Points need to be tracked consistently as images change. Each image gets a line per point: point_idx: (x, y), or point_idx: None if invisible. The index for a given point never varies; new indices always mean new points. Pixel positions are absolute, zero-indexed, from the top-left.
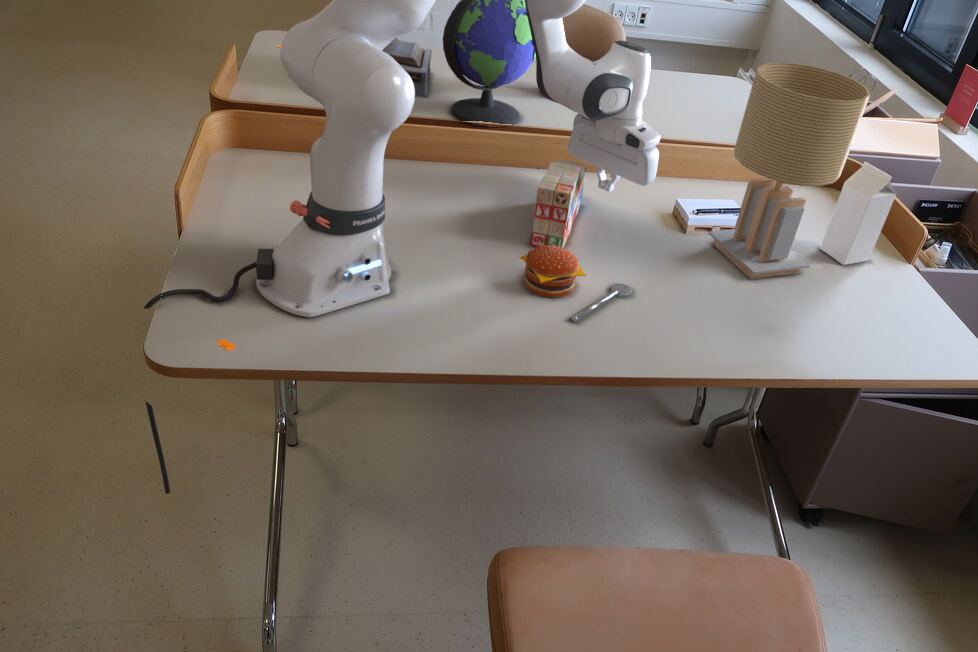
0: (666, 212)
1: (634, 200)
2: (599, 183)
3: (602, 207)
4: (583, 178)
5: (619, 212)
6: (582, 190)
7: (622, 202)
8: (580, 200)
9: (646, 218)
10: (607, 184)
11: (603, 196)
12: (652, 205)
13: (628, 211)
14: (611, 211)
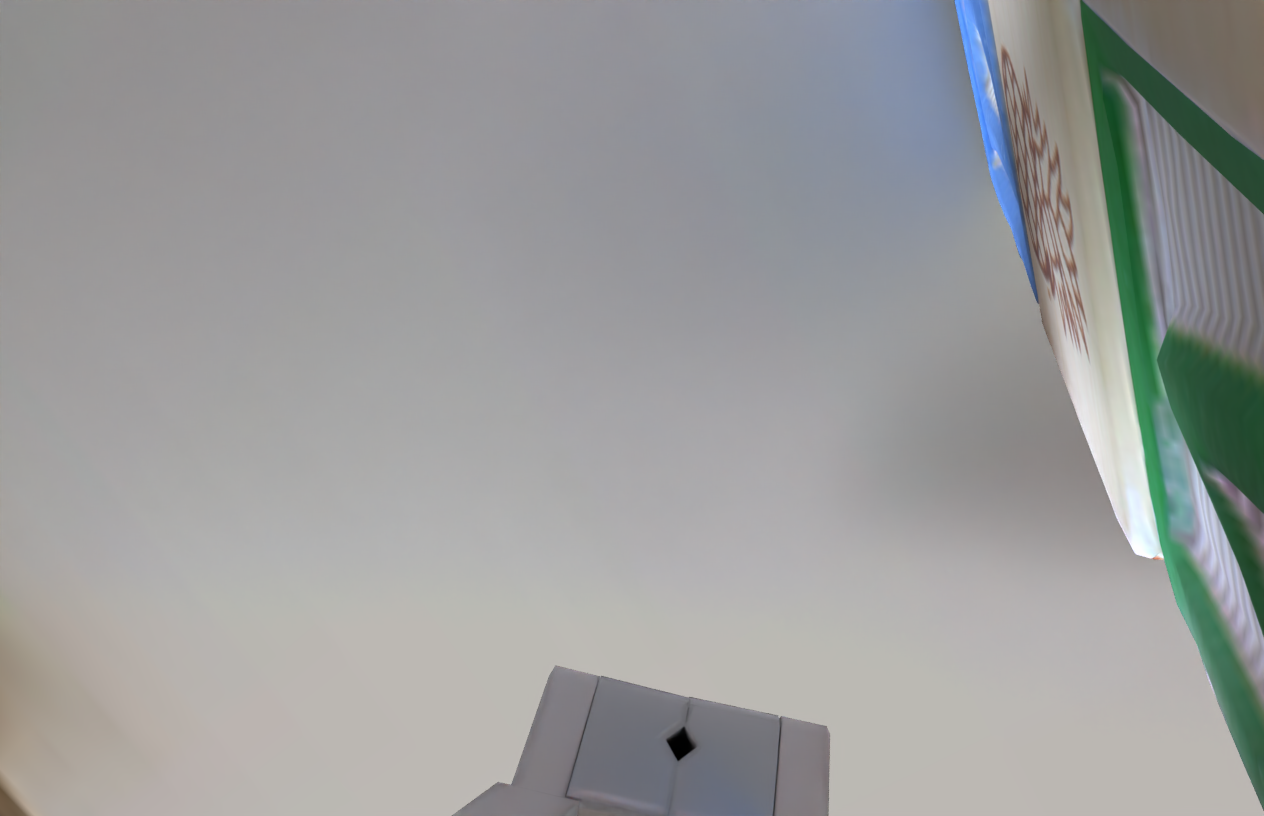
0: (25, 744)
1: (431, 810)
2: (800, 787)
3: (634, 405)
4: (1158, 423)
5: (355, 420)
6: (1040, 284)
7: (504, 699)
8: (992, 125)
9: (26, 489)
10: (589, 787)
11: (796, 715)
12: (223, 805)
13: (295, 524)
14: (455, 372)
